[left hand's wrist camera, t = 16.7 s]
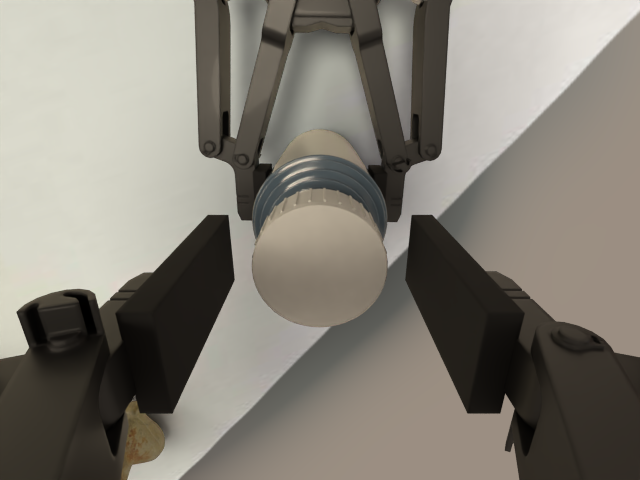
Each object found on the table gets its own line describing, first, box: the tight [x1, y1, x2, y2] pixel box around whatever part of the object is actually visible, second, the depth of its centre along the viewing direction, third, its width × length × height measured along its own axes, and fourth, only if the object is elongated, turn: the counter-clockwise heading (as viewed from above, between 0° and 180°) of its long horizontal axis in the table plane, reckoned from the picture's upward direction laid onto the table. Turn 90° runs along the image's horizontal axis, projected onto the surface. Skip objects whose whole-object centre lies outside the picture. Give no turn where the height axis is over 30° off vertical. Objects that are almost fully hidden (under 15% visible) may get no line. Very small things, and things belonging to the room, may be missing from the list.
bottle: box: [252, 129, 387, 242], centre depth 21 cm, size 6×6×17 cm
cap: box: [252, 188, 387, 327], centre depth 13 cm, size 5×5×2 cm
